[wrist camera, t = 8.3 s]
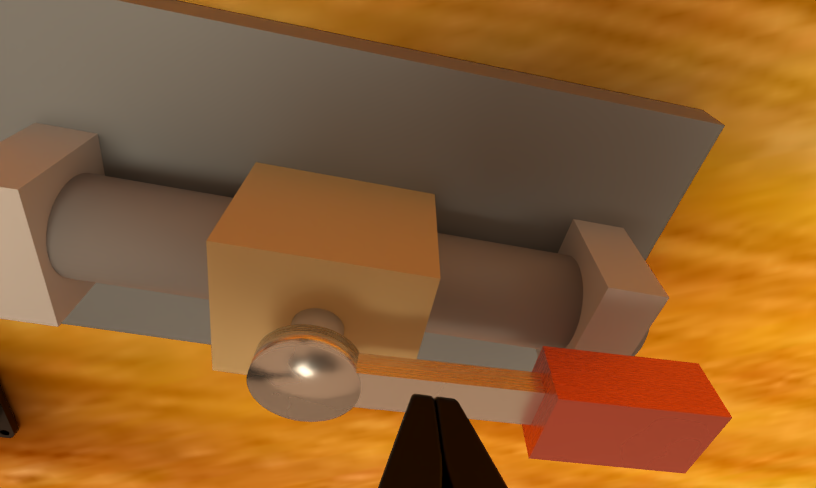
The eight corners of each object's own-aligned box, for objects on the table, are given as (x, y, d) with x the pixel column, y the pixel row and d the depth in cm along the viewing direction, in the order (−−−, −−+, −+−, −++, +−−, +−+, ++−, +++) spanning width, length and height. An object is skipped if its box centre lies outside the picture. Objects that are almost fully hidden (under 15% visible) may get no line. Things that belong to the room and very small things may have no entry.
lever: (259, 381, 15) (243, 434, 13) (257, 307, 13) (236, 359, 11) (656, 423, 15) (681, 477, 14) (701, 358, 14) (736, 412, 12)
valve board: (558, 370, 25) (606, 524, 19) (70, 299, 23) (-61, 447, 16) (702, 110, 17) (866, 223, 11) (-19, -41, 15) (-335, -5, 9)
